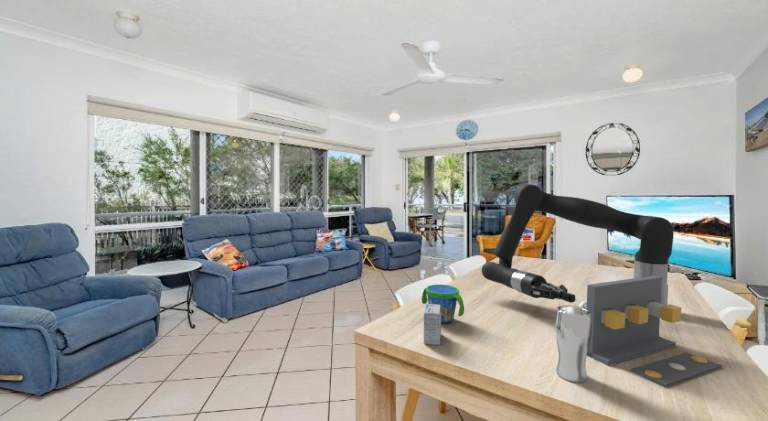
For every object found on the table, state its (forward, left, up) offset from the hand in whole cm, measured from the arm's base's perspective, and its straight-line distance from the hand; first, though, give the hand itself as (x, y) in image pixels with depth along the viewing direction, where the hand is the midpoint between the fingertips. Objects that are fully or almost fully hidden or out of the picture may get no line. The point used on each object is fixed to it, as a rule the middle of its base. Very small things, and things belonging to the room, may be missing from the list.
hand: (573, 299), depth 98 cm
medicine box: (+41, -8, -10) cm, 43 cm away
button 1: (+3, +12, -2) cm, 12 cm away
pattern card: (-7, +23, -10) cm, 26 cm away
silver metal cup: (+19, +18, -10) cm, 28 cm away
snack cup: (+32, -20, -10) cm, 39 cm away
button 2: (-15, +12, -2) cm, 20 cm away
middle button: (-6, +11, -2) cm, 12 cm away
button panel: (-6, +11, -10) cm, 16 cm away
